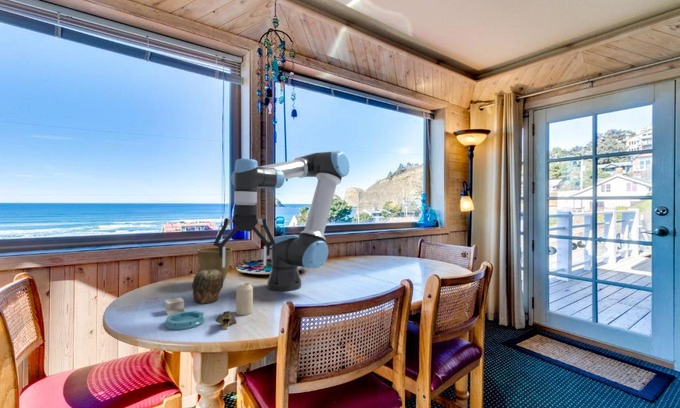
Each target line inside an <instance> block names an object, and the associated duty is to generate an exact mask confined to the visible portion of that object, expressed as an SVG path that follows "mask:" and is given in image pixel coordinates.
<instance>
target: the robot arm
mask: <svg viewBox="0 0 680 408" xmlns="http://www.w3.org/2000/svg"><path fill="white" fill-rule="evenodd" d="M234 162H235V163H234V171H233V172H232V173H231V175H230V181H231V184H232V185H233V186H234V195H233V196H234V197H233V202H234V206H233V218H228V217H226V218H224V220H223V226H222V227H221V229H220V231H219V233H218V234H217V236H216V238H215V240H214V241H213V247H219V257H223V258H222V267H225V248H226V246H225V245H226V244H227V243H228V241H230V239H231V238H232V237H233V236H234V235H235V234H236V233H237V232H238V231H239V232H252V231H253V232H254V233H255V234H256V236H257V237H259V239H260V240H261V241H262V243H263V244H264V246H263V261H262V262H263V267H266V266H267V257H269V256H270V254H271V270H270V273H269V276H268V280H267V281H266V282H267V285H266V286H267V287H266V288H267V289H268V290H272V291H278V292H286V291H287V292H289V291H294V290H299V289H300V288H302V279H301V276H300V272H299V268H298V267H301V268H302V267H303V268H306V269H319V268H320V267H322V266H323V265H324V264H325V262H326V261H327V259H328V255H329V246H328V243H326V240H327V239H326V237H325V236H324V234H325V230H326V227H327V222H328V219H329V215H330V212H331V208H332V203H333V200H334V196H335V193H336V192H335V191H336V188H337V186H338V185H339V184H341V182H342V178H344V177H346V176H348V175H349V173H350V161H349V157H348V156H347V154H346V153H344V152H343V151H341V150H332V151H322V152H320V151H319V152H313V153H309V154H307V155H303V156H298V157H295V159H293V160H290V161H283V162H277V163H270V164H267V165H266V164H265V165H261V166H259V164H258V163H259V162H258V161H257V160H256V159H254V158H253V159H252V158H238V159H236V160H235V161H234ZM293 178H299V179H302V178H316V179H317V184H316V187H315V190H314V193H313V198H312V201H311V204H310V208H309V211H308V216H307V219H306V223H305V226H304V228H303V229H304V230H302V231H300V232H299V234H289V235H279V236H278V235H277V236H274V237H273V235H272V234H271V231H270V230H269V227H268V225H267V219H266V218H265V217H263V218H258V217H257V216H258V206H257V203H258V189H272V190H274V189H280V188H282V187H283V185H284V183H285V180H288V179H293ZM258 223H259V225H261V226H262V227H263V230H264V231H265V233H266V235H267V237H268V239H269V241H268V240H267V239H266V238H265V236H263V234H262V233H261V232H260V231H259V230H258V228H257V227H256V226H257V224H258ZM230 224H233V225H234V228H233V229H231V231H230V232H229V233H228V234H227V235H226V237H224V238H223V240H222V241H221V242H220V240H221V238H222V236H223V235H224V233H225V231H226V229H227V228H228V226H229V225H230ZM270 249H271V250H270ZM270 251H271V253H270Z"/></svg>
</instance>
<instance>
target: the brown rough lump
mask: <svg viewBox="0 0 680 408" xmlns="http://www.w3.org/2000/svg"><path fill="white" fill-rule="evenodd" d="M223 286H224V282H223V275H222V273H221V272H220V271H219V270H214V269H213V270H209V269H208V270H202V271H201V270H200V271H198V272H197V273H196V274H195V276H194V277H193V279H192V284H191V288H192V298H193V300H194V303H196V304H212V303H215V302H216V301H218V299H219V298H220V296H219V294H220V293H221V291H222V289H223Z"/></svg>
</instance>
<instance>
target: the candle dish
mask: <svg viewBox="0 0 680 408" xmlns="http://www.w3.org/2000/svg"><path fill="white" fill-rule="evenodd" d="M204 322H205V314H204V312H201V311H197V310H184V312H178V313H175V314H172V315H167V317H166V319H165V322H164V323H165V325H164V326H165V328H166V329H169V330H173V331H182V330H183V331H184V330H190V329H193V328H194V329H195V328H197V327H199V326H201V325H203V324H204Z"/></svg>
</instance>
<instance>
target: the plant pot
mask: <svg viewBox="0 0 680 408" xmlns="http://www.w3.org/2000/svg"><path fill="white" fill-rule="evenodd" d="M196 251H197V257H198V264H199V268H200V271H202V270H208V269H209V270H213V269H214V270H219V271H220V272H221V273H222V275H223V283H224V282H225V280H226V276H227V275H228V270H229V267H230V264H231V261H232V253H233V248H232V247H225V267H222V258H223V257H219V247H217V246H213V247H202V248H199V249H197V250H196Z"/></svg>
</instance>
